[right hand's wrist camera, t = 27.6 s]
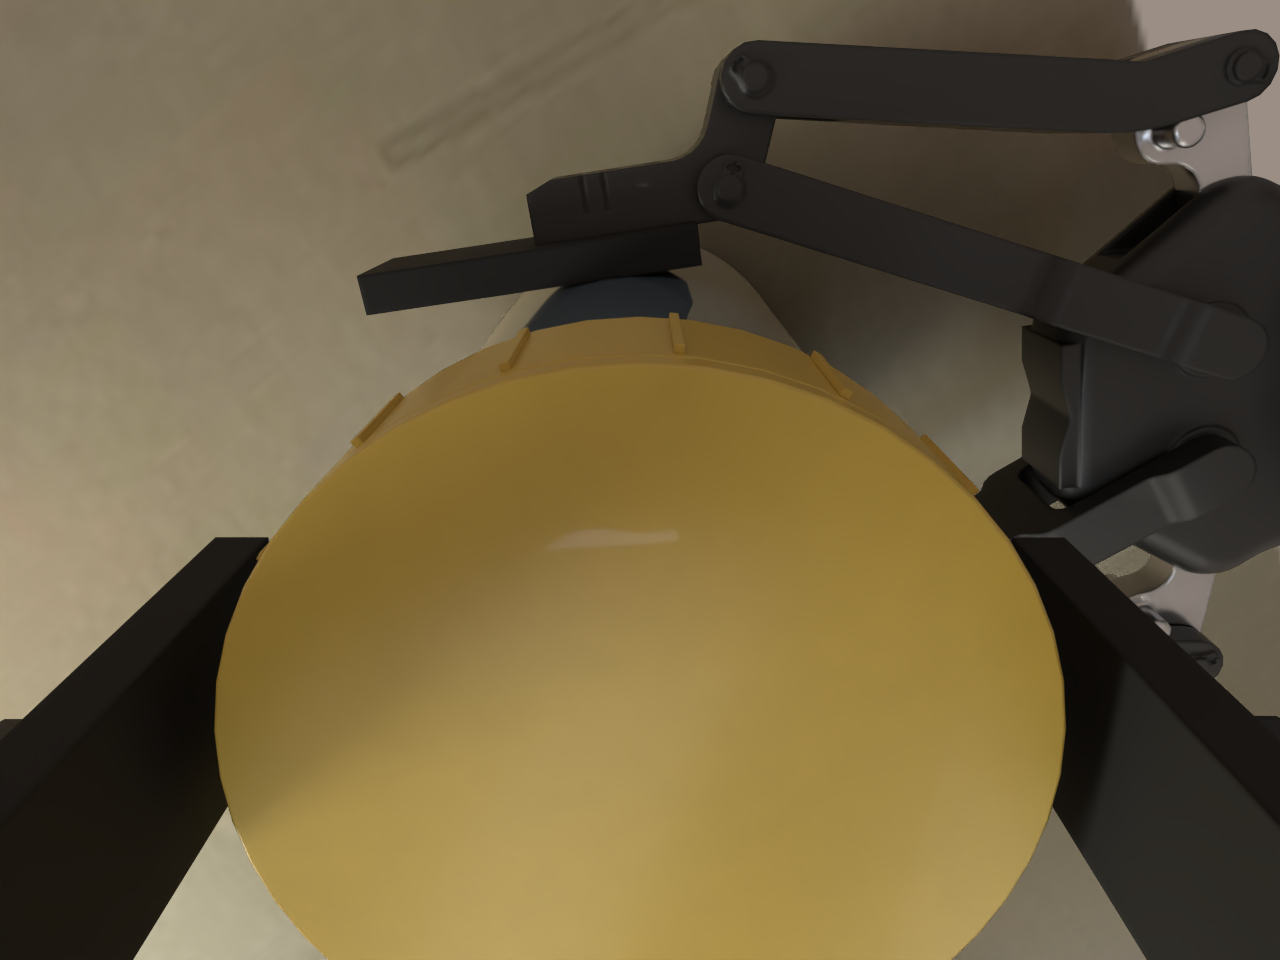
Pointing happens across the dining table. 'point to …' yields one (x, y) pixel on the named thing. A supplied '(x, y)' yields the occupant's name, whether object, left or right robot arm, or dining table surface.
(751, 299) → the jar
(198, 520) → the dining table surface
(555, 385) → the lid
